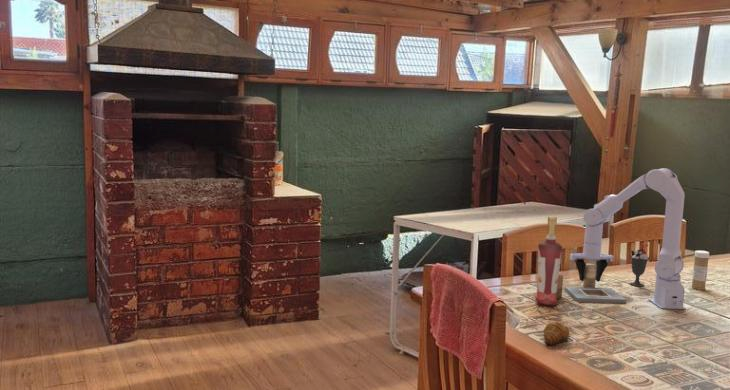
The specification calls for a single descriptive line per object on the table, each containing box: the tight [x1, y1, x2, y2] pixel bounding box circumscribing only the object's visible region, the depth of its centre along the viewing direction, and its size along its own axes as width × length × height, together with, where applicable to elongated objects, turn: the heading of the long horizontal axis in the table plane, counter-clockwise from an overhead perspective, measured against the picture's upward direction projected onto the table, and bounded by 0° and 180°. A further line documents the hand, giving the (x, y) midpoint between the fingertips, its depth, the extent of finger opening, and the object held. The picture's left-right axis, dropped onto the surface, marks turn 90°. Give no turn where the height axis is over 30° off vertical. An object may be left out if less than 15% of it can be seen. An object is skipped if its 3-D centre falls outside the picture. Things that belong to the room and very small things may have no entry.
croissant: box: [543, 321, 570, 346], centre depth 172 cm, size 14×7×5 cm, turn 146°
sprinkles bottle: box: [691, 249, 710, 291], centre depth 227 cm, size 5×5×13 cm
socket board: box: [564, 286, 627, 304], centre depth 213 cm, size 13×16×1 cm
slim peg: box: [582, 263, 597, 288], centre depth 224 cm, size 4×4×8 cm
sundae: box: [629, 244, 651, 288], centre depth 228 cm, size 7×7×15 cm
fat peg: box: [556, 273, 564, 299], centre depth 213 cm, size 7×7×7 cm
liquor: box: [534, 216, 563, 307], centre depth 202 cm, size 7×7×28 cm
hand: (589, 280), depth 224 cm, fingers open, 5 cm apart
